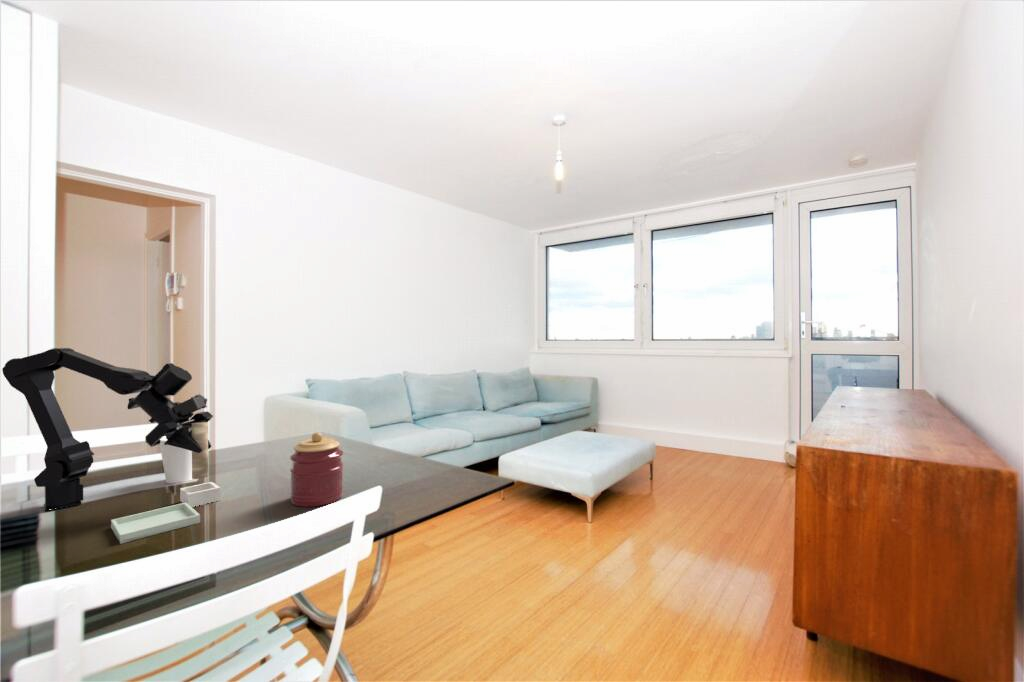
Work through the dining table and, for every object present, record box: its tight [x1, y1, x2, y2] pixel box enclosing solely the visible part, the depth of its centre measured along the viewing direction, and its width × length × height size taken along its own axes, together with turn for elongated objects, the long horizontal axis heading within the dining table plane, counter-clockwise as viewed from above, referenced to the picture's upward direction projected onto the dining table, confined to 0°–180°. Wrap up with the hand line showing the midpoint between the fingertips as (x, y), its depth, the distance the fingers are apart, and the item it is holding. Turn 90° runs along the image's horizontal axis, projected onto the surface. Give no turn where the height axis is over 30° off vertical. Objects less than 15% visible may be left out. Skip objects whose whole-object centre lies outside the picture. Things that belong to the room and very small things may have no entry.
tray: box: [110, 502, 201, 545], centre depth 102 cm, size 14×12×2 cm
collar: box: [179, 481, 221, 508], centre depth 117 cm, size 7×7×4 cm
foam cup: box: [158, 436, 192, 484], centre depth 134 cm, size 10×9×13 cm
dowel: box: [191, 422, 209, 480], centre depth 116 cm, size 4×4×14 cm
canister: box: [289, 431, 345, 508], centre depth 118 cm, size 13×13×18 cm
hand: (205, 449), depth 117 cm, fingers closed on dowel, 3 cm apart
